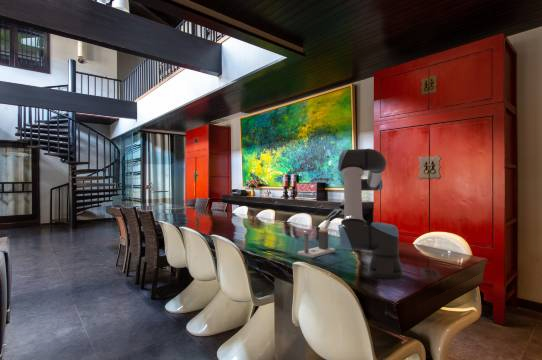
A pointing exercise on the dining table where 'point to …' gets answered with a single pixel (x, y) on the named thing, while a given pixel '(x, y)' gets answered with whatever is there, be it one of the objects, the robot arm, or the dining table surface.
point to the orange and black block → (323, 239)
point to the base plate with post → (313, 249)
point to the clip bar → (301, 230)
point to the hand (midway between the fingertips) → (333, 230)
